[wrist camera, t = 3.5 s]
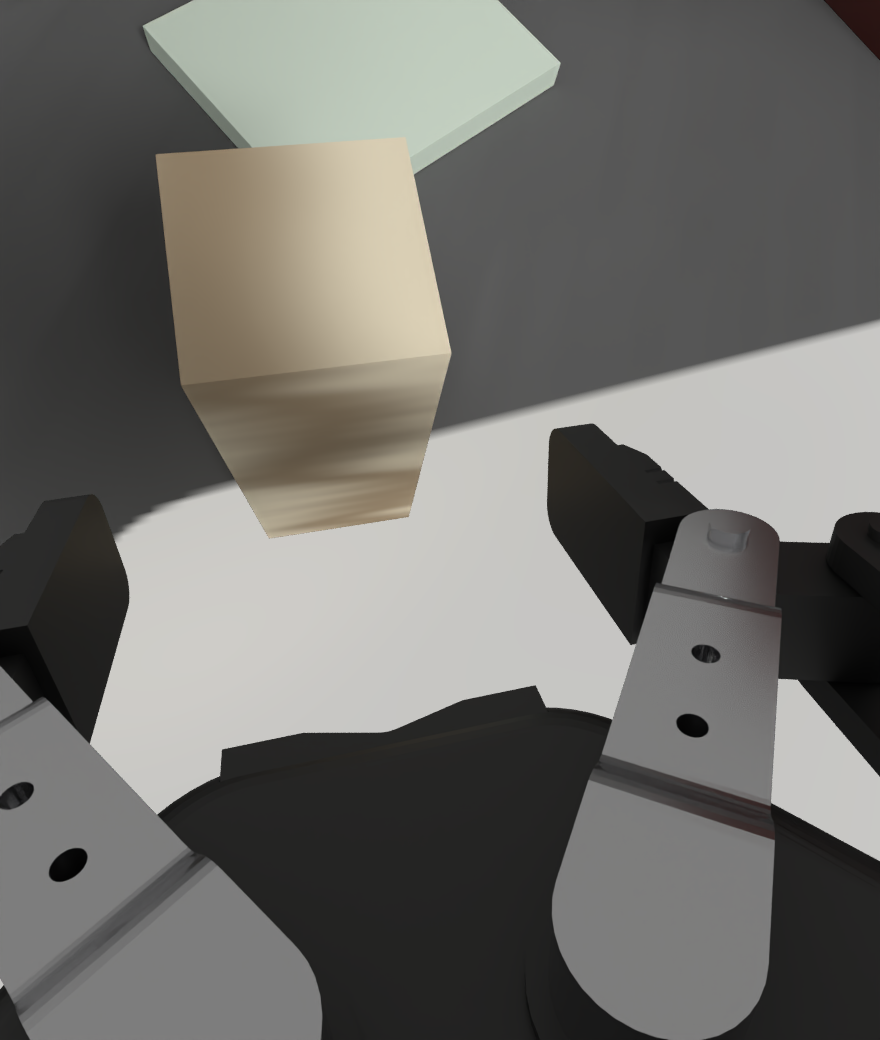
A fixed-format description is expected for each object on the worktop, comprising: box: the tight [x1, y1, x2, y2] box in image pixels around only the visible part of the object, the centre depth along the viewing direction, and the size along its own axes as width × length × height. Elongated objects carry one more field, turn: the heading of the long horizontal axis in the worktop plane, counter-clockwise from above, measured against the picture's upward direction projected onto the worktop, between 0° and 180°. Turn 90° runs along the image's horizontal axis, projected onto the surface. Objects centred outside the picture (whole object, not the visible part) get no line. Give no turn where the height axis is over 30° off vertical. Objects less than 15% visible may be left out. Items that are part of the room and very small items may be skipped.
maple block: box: [156, 137, 451, 538], centre depth 17 cm, size 4×4×11 cm
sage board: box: [143, 0, 560, 175], centre depth 26 cm, size 12×10×1 cm
